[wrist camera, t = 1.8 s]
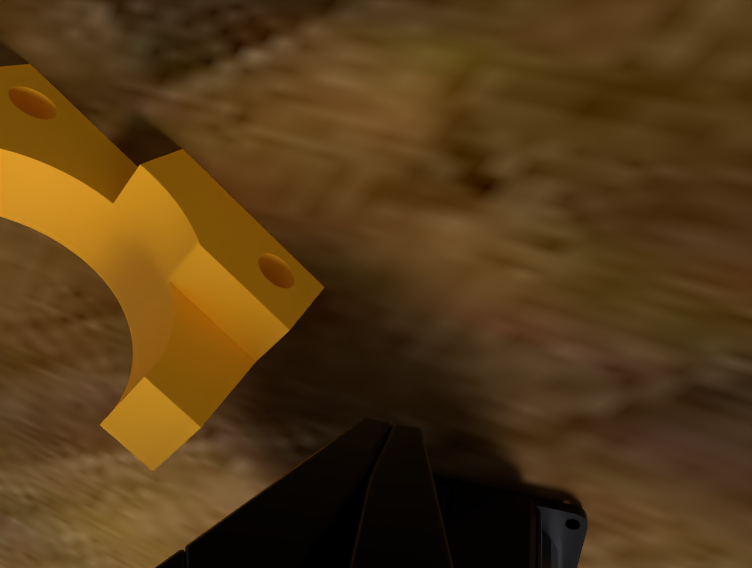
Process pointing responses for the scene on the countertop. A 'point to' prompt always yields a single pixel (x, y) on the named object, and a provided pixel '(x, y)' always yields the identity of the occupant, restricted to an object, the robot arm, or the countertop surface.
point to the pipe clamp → (151, 260)
